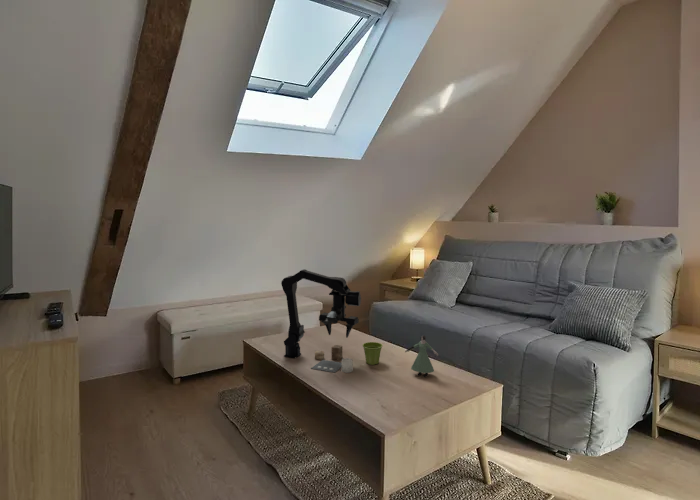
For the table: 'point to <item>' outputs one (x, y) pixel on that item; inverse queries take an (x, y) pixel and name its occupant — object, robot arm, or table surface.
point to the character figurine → (422, 358)
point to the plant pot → (372, 352)
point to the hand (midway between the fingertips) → (338, 336)
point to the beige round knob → (319, 355)
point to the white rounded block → (347, 365)
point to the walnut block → (336, 352)
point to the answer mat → (328, 366)
